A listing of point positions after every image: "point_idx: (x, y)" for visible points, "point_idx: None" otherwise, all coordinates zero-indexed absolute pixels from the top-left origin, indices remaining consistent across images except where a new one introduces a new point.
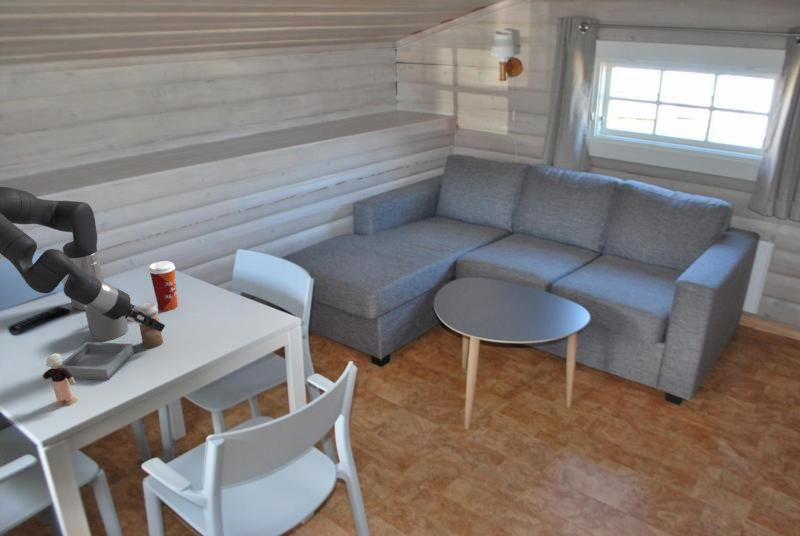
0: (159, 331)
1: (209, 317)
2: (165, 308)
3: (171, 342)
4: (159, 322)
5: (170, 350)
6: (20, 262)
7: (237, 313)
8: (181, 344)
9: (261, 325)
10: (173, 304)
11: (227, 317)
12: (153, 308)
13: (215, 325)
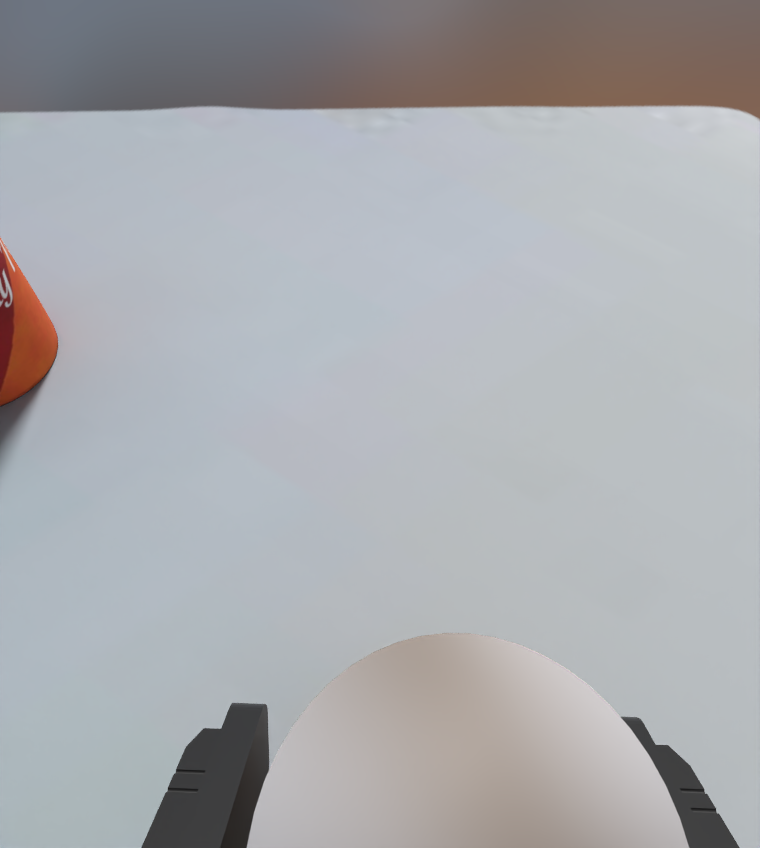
0: None
1: (379, 297)
2: (10, 386)
3: None
4: (682, 796)
5: None
6: None
7: (467, 197)
8: (623, 643)
9: (706, 207)
10: (42, 328)
11: (469, 246)
12: (627, 792)
13: (513, 334)
